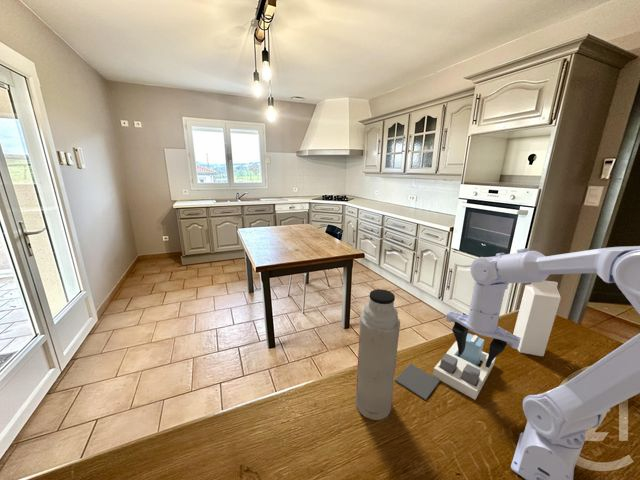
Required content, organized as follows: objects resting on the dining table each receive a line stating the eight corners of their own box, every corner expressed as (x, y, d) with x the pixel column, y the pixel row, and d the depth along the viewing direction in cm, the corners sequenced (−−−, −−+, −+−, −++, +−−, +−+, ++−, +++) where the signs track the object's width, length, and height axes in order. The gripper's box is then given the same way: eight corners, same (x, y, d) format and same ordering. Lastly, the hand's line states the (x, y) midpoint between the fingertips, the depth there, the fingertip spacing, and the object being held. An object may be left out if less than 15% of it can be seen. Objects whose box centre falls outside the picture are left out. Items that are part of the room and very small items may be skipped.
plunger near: (474, 388, 63) (476, 377, 62) (460, 380, 65) (463, 370, 64) (478, 381, 65) (480, 370, 64) (465, 374, 67) (467, 363, 66)
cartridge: (474, 370, 70) (480, 345, 68) (458, 362, 73) (463, 338, 71) (479, 362, 73) (484, 338, 71) (463, 355, 76) (468, 331, 73)
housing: (475, 400, 61) (477, 391, 61) (432, 376, 68) (434, 368, 68) (493, 364, 72) (495, 357, 71) (455, 347, 79) (456, 339, 78)
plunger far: (451, 375, 66) (453, 365, 65) (439, 369, 68) (441, 358, 67) (456, 369, 68) (457, 359, 67) (444, 363, 70) (445, 353, 69)
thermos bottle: (349, 409, 59) (355, 297, 51) (363, 384, 66) (369, 281, 58) (384, 427, 55) (396, 308, 47) (395, 398, 62) (407, 290, 54)
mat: (425, 400, 61) (425, 399, 61) (394, 380, 67) (395, 379, 67) (439, 381, 67) (439, 380, 66) (410, 364, 72) (410, 363, 72)
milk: (511, 340, 82) (527, 274, 76) (534, 343, 81) (552, 277, 75) (519, 352, 77) (537, 283, 71) (544, 357, 75) (564, 286, 69)
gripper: (528, 313, 56) (514, 366, 60) (457, 290, 66) (449, 336, 70) (521, 327, 52) (507, 383, 56) (446, 300, 62) (438, 349, 66)
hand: (474, 358), depth 63 cm, fingers open, 5 cm apart
